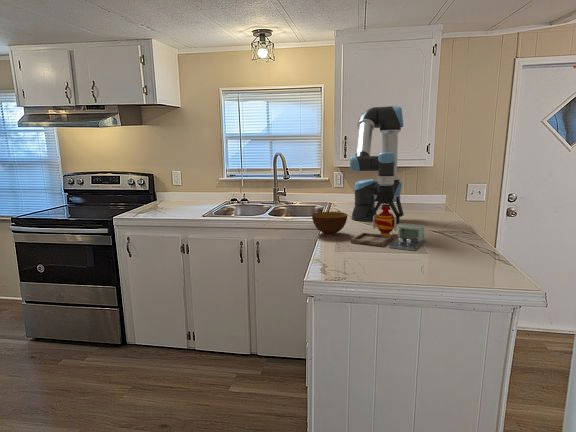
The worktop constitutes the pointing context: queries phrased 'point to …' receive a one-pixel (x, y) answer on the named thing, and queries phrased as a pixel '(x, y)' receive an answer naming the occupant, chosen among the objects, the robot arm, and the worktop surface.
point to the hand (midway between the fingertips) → (385, 229)
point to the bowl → (329, 222)
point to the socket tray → (372, 239)
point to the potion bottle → (385, 220)
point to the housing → (411, 231)
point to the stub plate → (412, 247)
